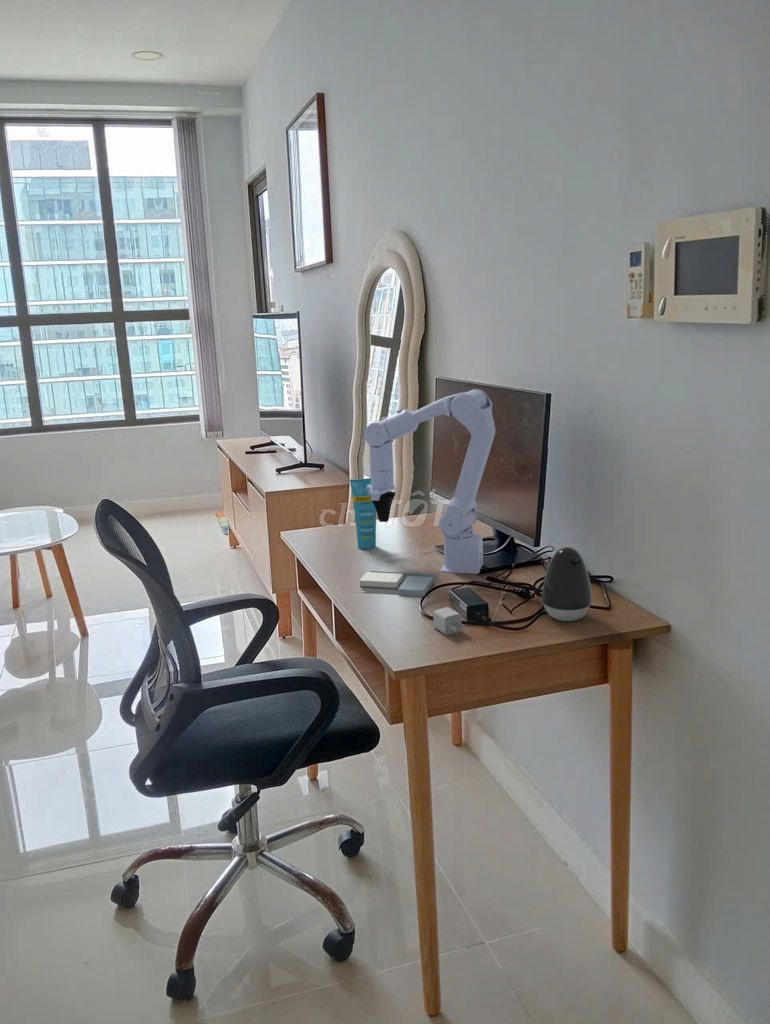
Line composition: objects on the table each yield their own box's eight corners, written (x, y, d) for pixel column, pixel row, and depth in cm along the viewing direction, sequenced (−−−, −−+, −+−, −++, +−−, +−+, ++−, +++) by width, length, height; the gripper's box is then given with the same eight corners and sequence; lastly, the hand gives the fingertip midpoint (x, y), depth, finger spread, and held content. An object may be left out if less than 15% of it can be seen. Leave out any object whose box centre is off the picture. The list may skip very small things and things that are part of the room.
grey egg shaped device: (556, 629, 171) (557, 558, 167) (533, 612, 181) (533, 543, 177) (601, 622, 174) (603, 551, 170) (576, 605, 183) (577, 537, 179)
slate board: (407, 581, 201) (407, 575, 201) (432, 582, 200) (432, 577, 199) (398, 594, 193) (398, 588, 192) (423, 596, 191) (423, 590, 191)
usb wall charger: (450, 624, 176) (449, 606, 175) (468, 635, 170) (468, 617, 169) (433, 628, 174) (433, 610, 173) (451, 640, 168) (451, 621, 167)
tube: (355, 551, 227) (351, 481, 222) (352, 546, 232) (348, 477, 227) (382, 548, 229) (379, 478, 224) (378, 543, 233) (375, 474, 228)
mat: (438, 575, 205) (438, 574, 205) (424, 597, 191) (423, 596, 191) (370, 572, 210) (370, 570, 210) (352, 593, 196) (352, 592, 196)
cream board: (402, 573, 202) (396, 582, 197) (403, 579, 203) (396, 588, 197) (366, 571, 205) (359, 580, 199) (367, 577, 205) (359, 585, 200)
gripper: (374, 462, 220) (376, 513, 224) (357, 475, 207) (360, 528, 210) (400, 463, 218) (402, 514, 222) (385, 475, 205) (387, 529, 209)
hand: (383, 521), depth 216 cm, fingers closed
